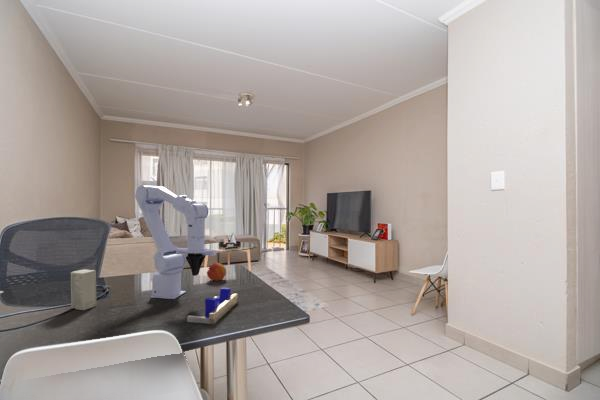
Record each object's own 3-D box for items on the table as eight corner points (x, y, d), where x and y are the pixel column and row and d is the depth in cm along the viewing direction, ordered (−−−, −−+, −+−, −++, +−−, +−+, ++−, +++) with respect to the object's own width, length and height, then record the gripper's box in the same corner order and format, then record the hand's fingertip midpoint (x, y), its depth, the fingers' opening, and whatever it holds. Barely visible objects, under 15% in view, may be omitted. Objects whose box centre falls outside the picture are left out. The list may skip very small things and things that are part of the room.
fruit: (209, 278, 129) (209, 260, 129) (227, 277, 130) (227, 260, 130) (205, 283, 121) (205, 264, 121) (224, 282, 122) (224, 264, 122)
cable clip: (218, 304, 97) (218, 287, 97) (230, 305, 96) (230, 287, 96) (200, 318, 85) (200, 299, 85) (214, 319, 85) (214, 300, 85)
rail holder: (187, 321, 82) (187, 311, 82) (215, 300, 100) (215, 292, 100) (214, 324, 81) (214, 313, 81) (237, 302, 99) (237, 293, 99)
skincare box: (96, 306, 94) (97, 270, 94) (82, 311, 90) (83, 273, 90) (84, 303, 96) (84, 268, 96) (69, 308, 92) (70, 271, 92)
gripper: (170, 237, 97) (170, 276, 97) (209, 239, 94) (208, 279, 94) (182, 235, 104) (182, 271, 104) (218, 236, 101) (218, 273, 101)
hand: (195, 274), depth 100 cm, fingers closed
